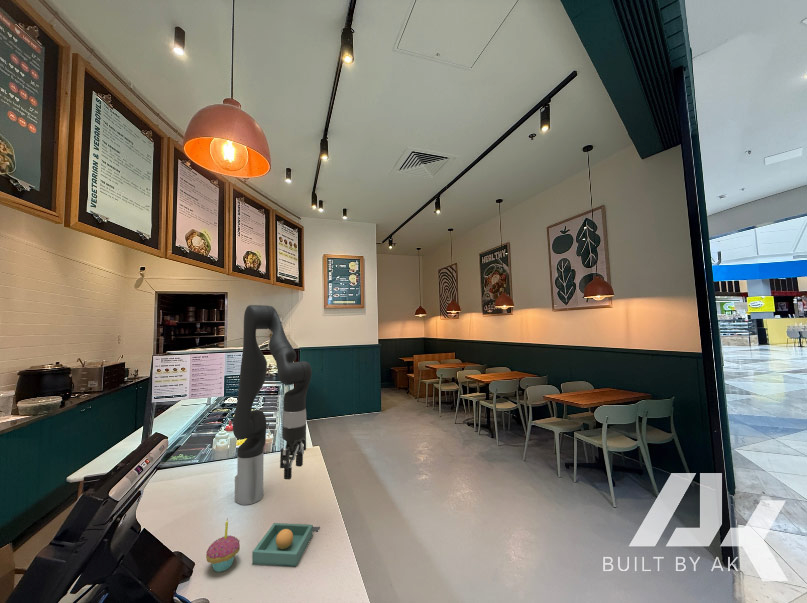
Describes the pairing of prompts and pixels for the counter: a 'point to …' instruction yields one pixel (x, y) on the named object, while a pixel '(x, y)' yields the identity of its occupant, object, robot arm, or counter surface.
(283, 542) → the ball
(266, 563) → the tray
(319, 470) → the counter surface
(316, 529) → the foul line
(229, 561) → the cupcake
